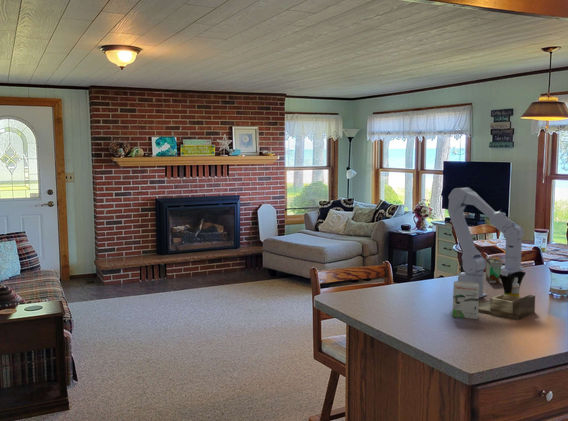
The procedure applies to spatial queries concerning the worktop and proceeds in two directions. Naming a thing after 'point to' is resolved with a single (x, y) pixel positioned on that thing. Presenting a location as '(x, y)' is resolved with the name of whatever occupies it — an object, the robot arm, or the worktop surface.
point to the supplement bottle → (514, 288)
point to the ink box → (465, 300)
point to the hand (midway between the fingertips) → (511, 291)
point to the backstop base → (519, 308)
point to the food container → (493, 270)
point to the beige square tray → (503, 303)
